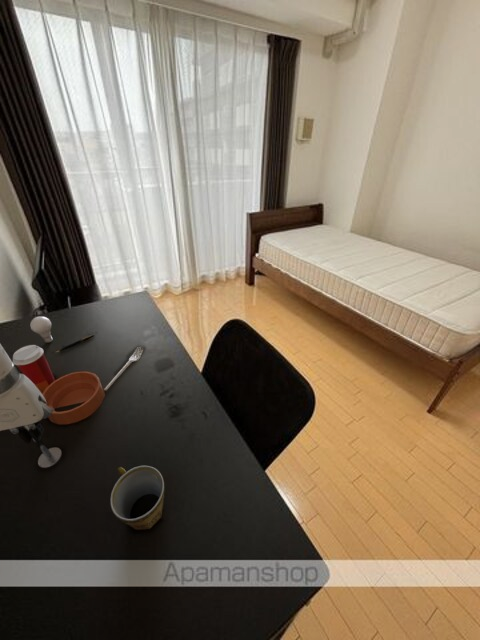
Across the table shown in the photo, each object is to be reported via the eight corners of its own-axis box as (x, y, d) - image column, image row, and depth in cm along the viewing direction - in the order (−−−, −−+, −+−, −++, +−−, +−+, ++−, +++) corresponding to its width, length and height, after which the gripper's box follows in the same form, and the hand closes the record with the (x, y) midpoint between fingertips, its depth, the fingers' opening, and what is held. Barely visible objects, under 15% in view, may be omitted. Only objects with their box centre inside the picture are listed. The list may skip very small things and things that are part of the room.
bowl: (42, 433, 76) (32, 419, 72) (55, 391, 88) (47, 377, 84) (103, 419, 79) (96, 405, 76) (107, 380, 91) (102, 367, 88)
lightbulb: (56, 334, 111) (45, 311, 105) (60, 342, 107) (49, 318, 101) (38, 341, 108) (25, 317, 102) (41, 349, 104) (28, 325, 98)
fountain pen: (55, 354, 101) (54, 351, 101) (54, 353, 102) (53, 350, 101) (95, 336, 110) (94, 333, 109) (94, 335, 110) (93, 332, 110)
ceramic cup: (180, 510, 61) (174, 488, 55) (139, 554, 55) (127, 534, 49) (146, 470, 68) (137, 447, 62) (107, 504, 62) (93, 482, 56)
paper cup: (50, 373, 94) (32, 340, 86) (64, 382, 91) (47, 349, 83) (26, 389, 89) (4, 355, 80) (39, 399, 85) (18, 365, 77)
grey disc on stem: (38, 474, 67) (6, 434, 58) (44, 454, 71) (14, 415, 62) (62, 468, 68) (34, 428, 59) (66, 449, 72) (40, 409, 63)
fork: (100, 390, 88) (99, 386, 87) (137, 349, 104) (136, 345, 102) (109, 393, 87) (107, 388, 86) (145, 351, 103) (144, 347, 102)
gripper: (-68, 405, 48) (-12, 462, 59) (35, 385, 52) (69, 442, 62) (-46, 374, 54) (1, 431, 65) (45, 358, 58) (75, 414, 68)
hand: (34, 436), depth 64 cm, fingers closed on grey disc on stem, 1 cm apart
